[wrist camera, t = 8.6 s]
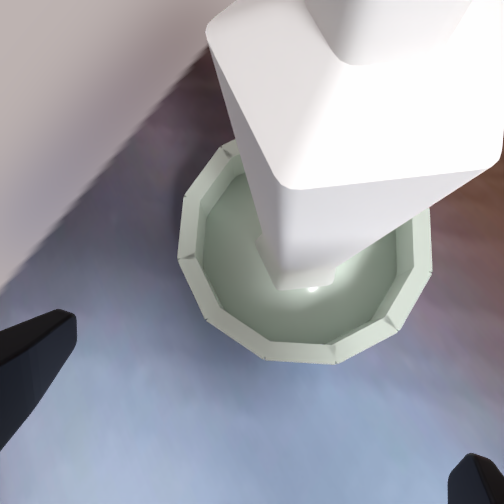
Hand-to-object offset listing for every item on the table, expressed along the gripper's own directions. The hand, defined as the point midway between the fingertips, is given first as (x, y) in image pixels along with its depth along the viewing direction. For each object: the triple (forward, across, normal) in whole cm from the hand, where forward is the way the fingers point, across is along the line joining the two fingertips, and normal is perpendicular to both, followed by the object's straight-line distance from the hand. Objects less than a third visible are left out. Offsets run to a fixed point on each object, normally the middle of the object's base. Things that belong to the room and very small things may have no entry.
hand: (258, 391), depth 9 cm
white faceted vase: (+10, 0, +2) cm, 10 cm away
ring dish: (+10, 0, +2) cm, 10 cm away
